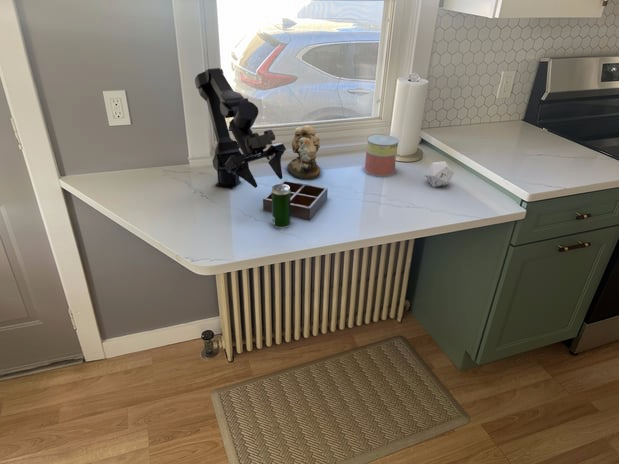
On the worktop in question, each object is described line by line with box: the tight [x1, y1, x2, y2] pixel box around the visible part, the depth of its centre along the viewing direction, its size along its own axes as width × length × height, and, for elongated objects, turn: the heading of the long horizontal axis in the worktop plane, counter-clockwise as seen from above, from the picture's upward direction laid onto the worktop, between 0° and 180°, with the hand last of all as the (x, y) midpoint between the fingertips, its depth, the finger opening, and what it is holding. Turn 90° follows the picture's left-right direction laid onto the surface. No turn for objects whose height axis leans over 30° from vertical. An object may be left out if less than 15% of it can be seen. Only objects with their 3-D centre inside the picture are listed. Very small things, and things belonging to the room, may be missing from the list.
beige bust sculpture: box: [286, 124, 321, 181], centre depth 168 cm, size 18×12×17 cm, turn 18°
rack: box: [262, 179, 329, 221], centre depth 147 cm, size 16×16×4 cm
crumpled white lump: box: [424, 160, 455, 188], centre depth 162 cm, size 8×9×10 cm
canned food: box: [364, 134, 400, 177], centre depth 171 cm, size 11×11×12 cm
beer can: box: [271, 183, 291, 230], centre depth 134 cm, size 5×5×12 cm
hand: (269, 182), depth 134 cm, fingers open, 9 cm apart
